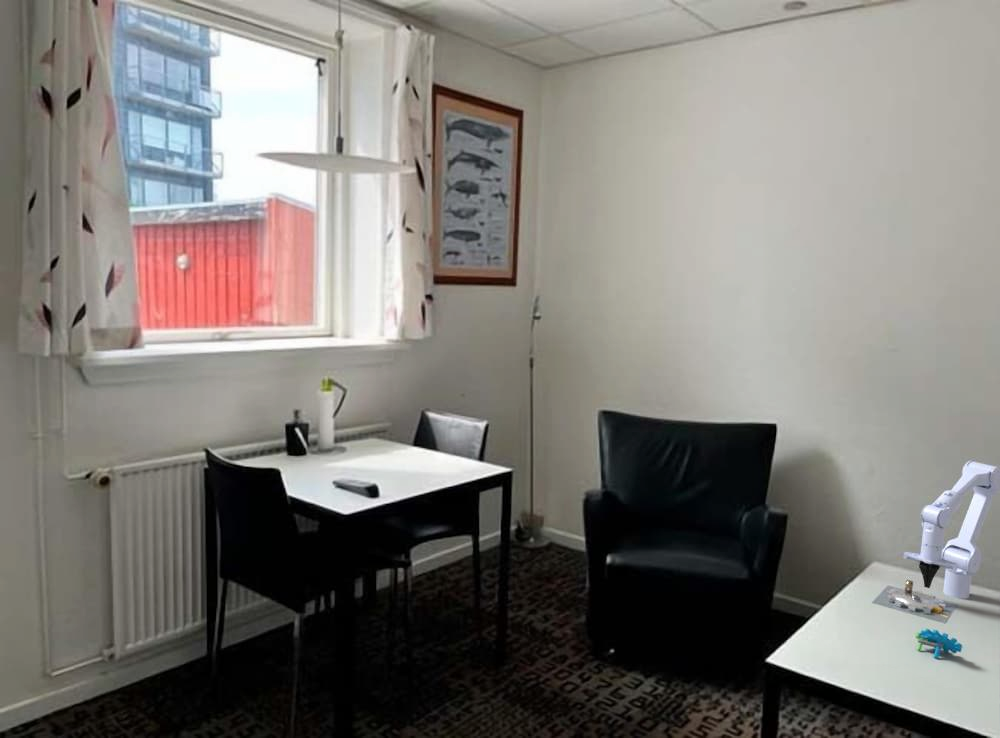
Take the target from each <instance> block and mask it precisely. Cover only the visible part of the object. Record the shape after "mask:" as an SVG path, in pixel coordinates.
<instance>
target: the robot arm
mask: <svg viewBox="0 0 1000 738" xmlns="http://www.w3.org/2000/svg"><path fill="white" fill-rule="evenodd" d="M972 490H973V492H974V494H973V496H972V499H971V502H970V504H969V507H968V509H967V512H966V515H965V518H964V520H963V522H962V525H961V528H960V530H959V533H958V535H957V537H955V538H953V539H950V540H948V541H947V543H946V544H945V546H944V539H945V532H946V531H945V530H946V527H947V526H949V524H950V522H951V519H952V518H953V516H954V515H953V513H954V512H955V511H956V510H957V509H958V508H959V507H960V506H961V505H962V504H963V499H962V498H964V496H965V495H967V494H968V493H969V492H970V491H972ZM999 492H1000V466H995V465H990V464H987V463H982V462H977V461H975V460H968V461H967V462H966V463H965V464H964V466H963V467H962V470H961V477H960V478H959V479H958V480H957V482H956V483H955V484H954V485H953V487H952V489H951V490H949V489H948V490H944V491H943V492H942V493H941V495H939V497H937V499H935V501H934V502H933V503H932V504H928V505H925V506H924V507H923V508H922V510H921V513H919V514H920V516H919V517H920V520H921V528H922V535H921V536H922V537H921V546H920V553H918V552H917V553H916V552H911V551H905V552H904V553H903V559H904V560H910V561H914V562H919V564H918V567H919V570H920V572H921V575H922V579H923V587H924V588H927V589H931V586H932V582H933V580H934V578H935V576H936V574H937V573H938V571H939V569H940V568H943V569H945V572H944V582H943V589H942V593H943V595H946V596H948V597H951V598H955V599H959V600H966V599H969V598H970V594H971V592H970V591H971V585H972V577H973V574H975V573H976V572H978V570H979V569H980V566H981V559H982V555H983V554H982V552H981V550H980V548H979V547H978V546H977V544H976V543H977V540H978V539H979V536H980V533H981V530H982V527H983V525H984V523H985V520H986V517H987V516H988V512H989V510H990V507H991V504H992V501H993V499H994V497H995V495H998V494H999Z"/></svg>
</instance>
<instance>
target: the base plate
mask: <svg viewBox="0 0 1000 738" xmlns="http://www.w3.org/2000/svg"><path fill="white" fill-rule="evenodd" d="M893 588H895V589H898V590H901V588H899V587H896V586H891V585H887V586H886V587H885V588H884V589H883V590H882V591H881V592H880V593H879V594H878V595H877V596H876V597H875V598H874V599H873V600H872V601H871V604H875V605H878V606H882V607H885V608H888V609H893V610H896V611H900V612H903V613H907V614H910V615H914V616H916V617H921V618H923V619H924V618H925V619H927V620H931V621H935V622H938V623H941V624H946V623H947V622H948V621H949V619H950V617H951V616H952V614H953V612H954V611H955V610H956V608H957V606H958V605H959V604H958V603H955V602H952V601H948V600H946V599H945V600H944V599H941V600H942V601H944V604H945V611H941V613H938V614H937V613H935V612H930V614H927V613H923V612H922V611H918V610H915V612H914V611H910V610H908V608H906V607H898V606H896V605H895V602H889V601H888V600H887V597H886V592H887V591H891V589H893ZM935 599H938V597H937V598H936V597H935Z"/></svg>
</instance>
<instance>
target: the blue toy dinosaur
mask: <svg viewBox="0 0 1000 738" xmlns="http://www.w3.org/2000/svg"><path fill="white" fill-rule="evenodd" d="M915 638H916V639H917V643H918V645H917V648H916V650H917V652H921V650H922V647H923V646H928V647H932V648H933V649H935V652H934V653H933V658H934V659H936V660H937V659H938V658H939V656H940V652H941V650H943V652H944V653H949V652H951V653H952V654H957V653H958V652H959V653H961V652H962V648H963V644H961V643H960V642H958V639H957V638H954V637H951V639H950V638H949V634H948V633H946V632H942V633H940V631H938V630H937V629H932V630H930V629H929V628H925V629H924V630H920V632H916V634H915Z"/></svg>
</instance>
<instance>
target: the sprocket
mask: <svg viewBox="0 0 1000 738" xmlns="http://www.w3.org/2000/svg"><path fill="white" fill-rule="evenodd" d="M904 586H905V588H903V587H901V588H900V589H901V590H898V589H895V588H893V589H891V591H887V592H886V597H887V600H888V601H889V602H895V605H896V606H898V607H906V608H908V610H910V611H914V612H915V610H918V611H922V612H923V613H927V614H930V612H935V613H937V614H938V613H941V611H945V604H944V601H942V600H943V599H940V598H937V599H935V598H936V595H933V594H931V593H929V594H926V593H923V591H922V590H917V589H915V590H913V586H914V581H912V580H909V579H906V580H905V585H904Z"/></svg>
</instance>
